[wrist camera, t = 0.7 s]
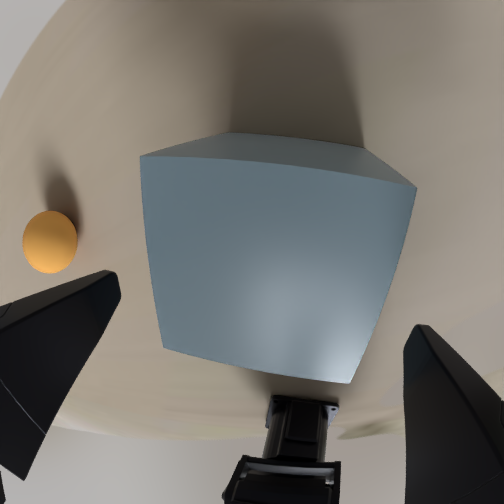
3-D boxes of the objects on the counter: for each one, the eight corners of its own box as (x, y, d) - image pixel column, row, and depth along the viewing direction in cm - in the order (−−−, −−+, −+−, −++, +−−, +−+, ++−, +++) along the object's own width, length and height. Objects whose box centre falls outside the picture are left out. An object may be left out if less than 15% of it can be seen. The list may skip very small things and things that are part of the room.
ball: (93, 259, 22) (56, 291, 17) (57, 251, 23) (22, 277, 18) (83, 203, 19) (38, 229, 15) (47, 200, 20) (6, 222, 16)
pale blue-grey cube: (342, 269, 17) (349, 383, 10) (224, 251, 19) (163, 347, 11) (364, 148, 14) (417, 187, 6) (228, 132, 15) (139, 156, 7)
